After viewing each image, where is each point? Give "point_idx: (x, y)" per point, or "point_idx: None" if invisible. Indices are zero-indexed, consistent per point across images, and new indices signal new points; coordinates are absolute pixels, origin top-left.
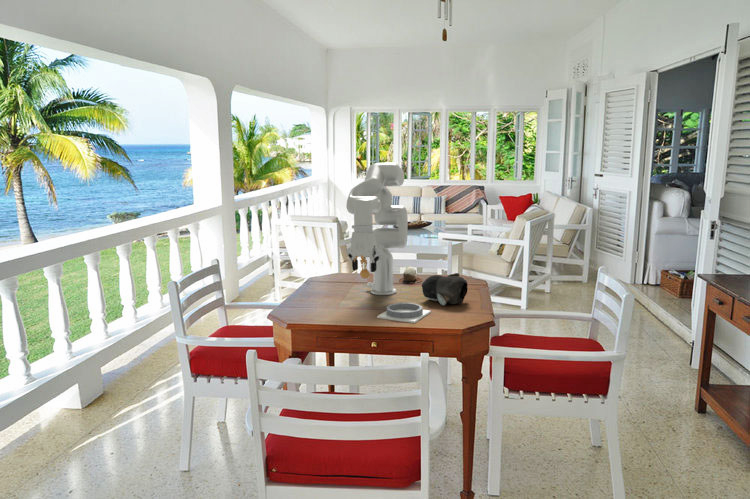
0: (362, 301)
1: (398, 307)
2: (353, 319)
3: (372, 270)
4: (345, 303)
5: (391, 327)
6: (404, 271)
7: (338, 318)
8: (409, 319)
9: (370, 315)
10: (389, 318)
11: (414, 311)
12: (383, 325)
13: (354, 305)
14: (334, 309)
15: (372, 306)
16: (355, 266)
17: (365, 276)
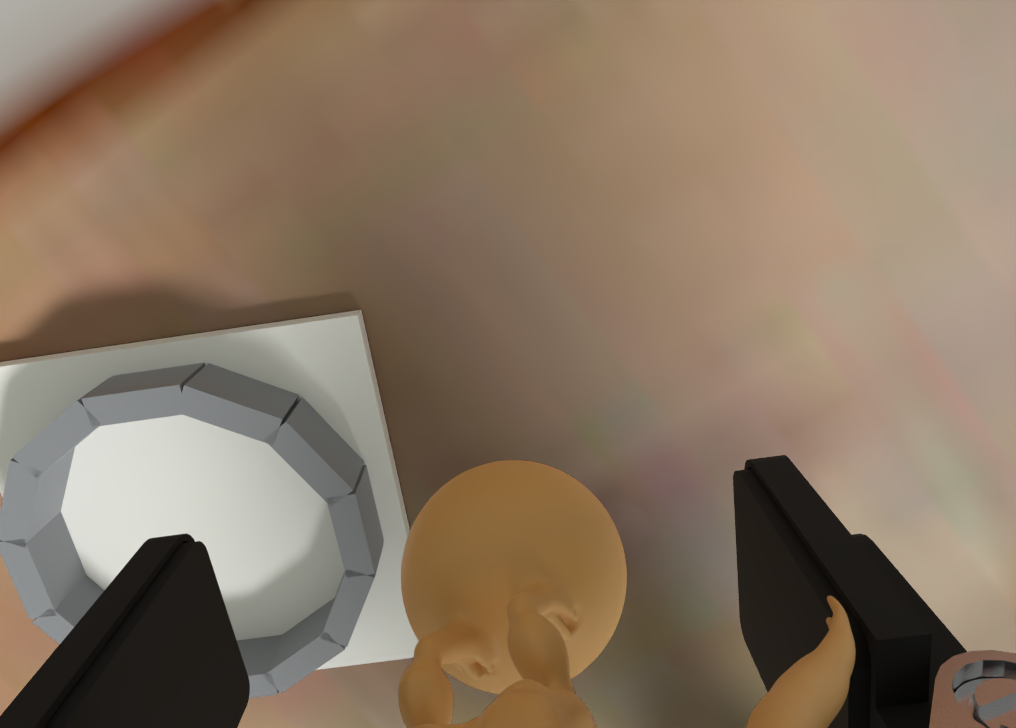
0: None
1: (333, 601)
2: (533, 129)
3: (137, 572)
4: (933, 527)
5: (21, 123)
6: None
7: (699, 63)
8: (26, 391)
9: (473, 341)
10: (221, 333)
11: (6, 499)
12: (133, 134)
13: None
14: (927, 310)
15: (640, 577)
16: (769, 582)
17: (441, 488)
